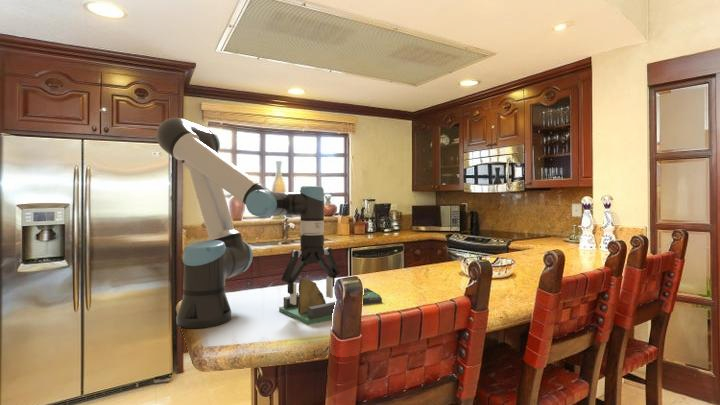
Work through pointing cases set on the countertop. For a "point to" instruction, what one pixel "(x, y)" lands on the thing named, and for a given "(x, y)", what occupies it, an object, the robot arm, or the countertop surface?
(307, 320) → the socket board
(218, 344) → the countertop surface
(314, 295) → the rock
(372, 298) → the disk drive
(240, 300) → the countertop surface
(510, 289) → the countertop surface
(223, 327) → the countertop surface
